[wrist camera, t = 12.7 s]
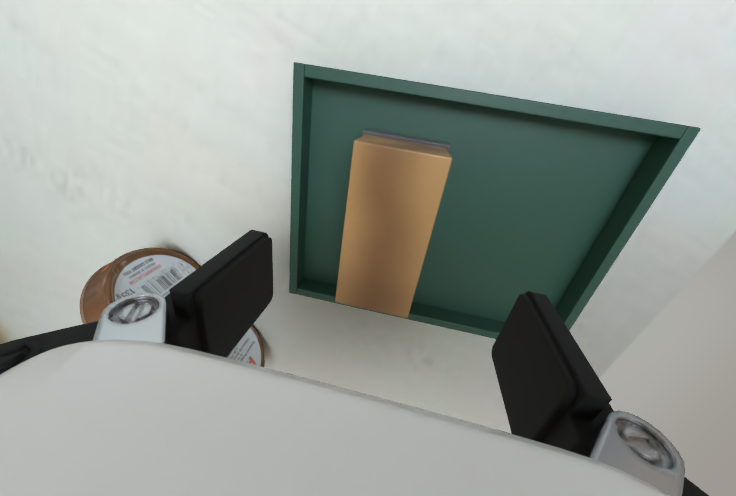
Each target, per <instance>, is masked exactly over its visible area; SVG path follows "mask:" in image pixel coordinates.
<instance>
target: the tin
mask: <svg viewBox="0 0 736 496" xmlns="http://www.w3.org/2000/svg"><path fill="white" fill-rule="evenodd" d="M199 267H200V266H199V265H198V264H196V263H195V262H194V261H193V260H191V259H190V258H188V257H186V256H185V255H183V254H181V253H178V252H175V251H172V250H169V249H163V248H144V249H139V250H135V251H132V252H129V253H126V254H124V255H122V256H120V257H119V258H117V259H115V260H114V261H113V262H111V263H109V264H107V265H105V266H104V267H102V268H100V269H99V270H98V271H97V272H95V273H94V274H93V275H92V276H91V278H90V279H89V280H88V282H87V283H86V285H85V287H84V289H83V291H82V294H81V298H80V314H81V318H82V322H83V324H87V323H91V322H95V321H99V318H100V315H101V314H102V312H103V310H104V309H105V308H106V307H107V306H109V305H110V304H111V303H113V302H115V301H117V300H118V299H121V298H124V297H126V296H129V295H134V294H139V293H155V294H158V295H161V296H162V297H163V298H164V297H166V296H167V295H168V294H170V291H169V289H170V288H172V287H173V286H174V285H176V284H177V283H179V282H180V281H181V280H183V279H184V278H185V277H187V276H188V275H190V274H191V273H192V272H194V271H195V270H197V269H198V268H199ZM227 358H230V359H234V360H238V361H242V362H246V363H250V364H253V365H257V366H261V367H264V350H263V345H262V342H261V339H260V337H259V335H258V333H257V331H256V330H255V328H254V327H253V326H251V327H250V329H249V330H248V331H247V332H246V334H245V335H244V336H243V337H242V339H241V340H240V341H239V343H238V344H237V345H236V346H235V348H234V349H233V350H232V352H231V353H230V354H229V355H228V357H227Z"/></svg>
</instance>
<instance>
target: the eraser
mask: <svg viewBox="0 0 736 496" xmlns="http://www.w3.org/2000/svg"><path fill="white" fill-rule="evenodd" d="M450 148H451V145H450V144H449V142H446V141H440V140H434V139H429V138H423V137H417V136H412V135H406V134H400V133H395V132H389V131H383V130H378V129H372V128H365V129H363V130H362V136H361V137H360V138H358V139H356V140H354V144H353V152H352V161H351V169H350V178H349V186H348V195H347V203H346V212H345V220H344V229H343V238H342V246H341V255H340V263H339V272H338V280H337V289H336V297H335V302H338V303H342V304H346V305H351V306H355V307H360V308H364V309H369V310H373V311H378V312H382V313H387V314H391V315H395V316H400V317H404V318H408V315H409V312H410V308H411V305H412V301H413V298H414V294H415V290H416V287H417V283H418V280H419V276H420V273H421V269H422V266H423V262H424V258H425V255H426V251H427V248H428V244H429V241H430V237H431V234H432V230H433V226H434V223H435V219H436V216H437V212H438V209H439V205H440V202H441V198H442V194H443V191H444V187H445V184H446V180H447V177H448V173H449V170H450V166H451V162H452V157H451V156H450V154H449V152H450Z"/></svg>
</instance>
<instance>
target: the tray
mask: <svg viewBox="0 0 736 496" xmlns="http://www.w3.org/2000/svg"><path fill="white" fill-rule="evenodd" d="M365 128H372V129H378V130H383V131H389V132H395V133H400V134H406V135H412V136H417V137H423V138H429V139H434V140H440V141H446V142H449V144H450V145H451V148H450V152H449V154H450V156H451V157H452V162H451V166H450V170H449V173H448V177H447V180H446V184H445V187H444V191H443V194H442V198H441V202H440V205H439V209H438V212H437V216H436V219H435V223H434V226H433V230H432V234H431V237H430V241H429V244H428V248H427V251H426V255H425V258H424V262H423V266H422V269H421V273H420V276H419V280H418V283H417V287H416V290H415V294H414V298H413V301H412V305H411V308H410V312H409V315H408V318H405V319H410V320H414V321H419V322H423V323H428V324H432V325H437V326H441V327H446V328H450V329H454V330H459V331H463V332H468V333H472V334H477V335H481V336H486V337H490V338H495V339H497V337H498V335H499V333H500V331H501V329H502V327H503V326H504V324H505V322H506V320H507V318H508V316H509V314H510V312H511V310H512V308H513V306H514V304H515V302H516V300H517V298H518V296H519V295H520V294H525V293H526V292H527V291H531V292H535V293H540V294H544V295H546V296H547V297H548V298H549V300H550V301H551V303H552V305H553V306H554V308H555V309H556V311H557V313H558V314H559V316H560V317H561V319H562V321H563V322H564V324H565V325H566V327H567V329H568V330H570V328H571V327H572V325H573V324H574V322H575V321H576V319H577V318H578V316H579V315H580V313H581V312H582V310H583V309H584V307H585V305H586V304H587V302H588V301H589V299H590V298H591V296H592V295H593V293H594V292H595V290H596V289H597V287H598V286H599V284H600V283H601V281H602V279H603V278H604V276H605V275H606V273H607V272H608V270H609V269H610V267H611V266H612V264H613V263H614V261H615V260H616V258H617V257H618V255H619V253H620V252H621V250H622V249H623V247H624V246H625V244H626V243H627V241H628V240H629V238H630V237H631V235H632V234H633V232H634V230H635V229H636V227H637V226H638V224H639V223H640V221H641V220H642V218H643V217H644V215H645V214H646V212H647V211H648V209H649V208H650V206H651V204H652V203H653V201H654V200H655V198H656V197H657V195H658V194H659V192H660V191H661V189H662V188H663V186H664V185H665V183H666V181H667V180H668V178H669V177H670V175H671V174H672V172H673V171H674V169H675V168H676V166H677V165H678V163H679V162H680V160H681V159H682V157H683V155H684V154H685V152H686V151H687V149H688V148H689V146H690V145H691V143H692V142H693V140H694V139H695V137H696V136H697V134H698V132H699V131H700V128H698V127H691V126H685V125H679V124H673V123H667V122H661V121H654V120H648V119H642V118H636V117H630V116H623V115H617V114H611V113H605V112H599V111H593V110H586V109H580V108H574V107H568V106H562V105H555V104H549V103H543V102H537V101H531V100H524V99H518V98H512V97H506V96H500V95H494V94H487V93H481V92H475V91H469V90H463V89H456V88H450V87H444V86H438V85H432V84H426V83H419V82H413V81H407V80H401V79H395V78H388V77H382V76H376V75H370V74H364V73H357V72H351V71H345V70H339V69H333V68H327V67H320V66H314V65H308V64H302V63H296V62H294V76H293V128H292V179H291V231H290V282H289V293H293V294H298V295H303V296H307V297H312V298H316V299H321V300H325V301H330V302H334V303H338V302H335V297H336V289H337V280H338V272H339V263H340V255H341V246H342V238H343V229H344V220H345V212H346V203H347V195H348V186H349V178H350V169H351V161H352V152H353V144H354V140H356V139H358V138H360V137H361V136H362V130H363V129H365ZM339 304H342V303H339ZM343 305H346V304H343ZM347 306H351V305H347ZM352 307H355V306H352ZM356 308H360V307H356ZM361 309H364V308H361ZM365 310H369V309H365ZM370 311H373V310H370ZM374 312H378V311H374ZM379 313H382V312H379ZM383 314H387V313H383ZM388 315H391V314H388ZM392 316H395V315H392ZM396 317H400V316H396ZM401 318H404V317H401Z"/></svg>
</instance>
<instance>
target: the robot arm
mask: <svg viewBox="0 0 736 496" xmlns="http://www.w3.org/2000/svg"><path fill="white" fill-rule="evenodd" d="M169 291H170V294H168V295H167V296H166V297H164V298H163V297H162V296H161V295H158V294H155V293H139V294H134V295H129V296H126V297H124V298H121V299H118V300H117V301H115V302H113V303H111V304H110V305H109V306H107V307H106V308H105V309H104V310H103V312H102V314H101V315H100V318H99V321H95V322H91V323H87V324H82V325H78V326H74V327H69V328H65V329H61V330H56V331H52V332H48V333H43V334H39V335H35V336H30V337H26V338H22V339H18V340H14V341H10V342H7V343H3V344H0V496H709V495H707V494H706V493H705V492H703V491H702V490H701V489H699V488H698V487H697V486H696V485H694V484H693V483H692V482H690V481H689V480H688V479H687V478H685V477H684V475H685V467H684V461H683V459H682V458H681V456H680V454H679V452H678V451H677V449H676V448H675V447H674V445H673V444H672V443H671V442H670V441H669V440H668V439H667V438H666V437H665V436H664V435H663V434H662V433H661V432H660V431H659V430H657V429H656V428H654V427H653V426H652V425H651V424H649V423H648V422H646V421H645V420H643V419H641V418H639V417H638V416H635V415H633V414H630V413H628V412H623V411H613V409H612V408H611V406H610V404H609V402H610V401H611V400H612V399H611V397H610V396H609V394H608V393H607V391H606V389H605V388H604V386H603V385H602V383H601V382H600V380H599V378H598V377H597V375H596V373H595V372H594V370H593V369H592V367H591V365H590V364H589V362H588V361H587V359H586V357H585V356H584V354H583V353H582V351H581V349H580V348H579V346H578V345H577V343H576V341H575V340H574V338H573V337H572V335H571V333H570V332H569V330H568V329H567V327H566V325H565V324H564V322H563V321H562V319H561V317H560V316H559V314H558V313H557V311H556V309H555V308H554V306H553V305H552V303H551V301H550V300H549V298H548V297H547V296H546V295H544V294H540V293H535V292H531V291H527V292H526V293H525V294H520V295H519V296H518V298H517V300H516V302H515V304H514V306H513V308H512V310H511V312H510V314H509V316H508V318H507V320H506V322H505V324H504V326H503V327H502V329H501V331H500V333H499V335H498V337H497V339H496V341H495V343H494V345H493V348H492V359H493V362H494V366H495V370H496V374H497V378H498V382H499V386H500V389H501V393H502V397H503V401H504V405H505V409H506V413H507V417H508V420H509V424H510V428H511V432H512V434H510V433H507V432H503V431H500V430H496V429H492V428H489V427H485V426H481V425H478V424H474V423H470V422H467V421H463V420H459V419H456V418H452V417H448V416H445V415H441V414H437V413H434V412H430V411H426V410H423V409H419V408H415V407H412V406H408V405H404V404H401V403H397V402H393V401H389V400H386V399H382V398H378V397H375V396H371V395H367V394H363V393H360V392H356V391H352V390H348V389H345V388H341V387H337V386H333V385H330V384H326V383H322V382H318V381H315V380H311V379H307V378H303V377H299V376H295V375H292V374H288V373H284V372H280V371H276V370H272V369H269V368H265V367H261V366H257V365H253V364H250V363H246V362H242V361H238V360H234V359H230V358H227V357H228V355H229V354H230V353H231V352H232V350H233V349H234V348H235V346H236V345H237V344H238V343H239V341H240V340H241V339H242V337H243V336H244V335H245V334H246V332H247V331H248V330H249V329H250V327H251V326H252V325H253V323H254V322H255V321H256V320H257V318H258V317H259V316H260V314H261V313H262V312H263V311H264V309H265V308H266V307H267V306H268V304H269V303H270V301H271V300H272V297H273V262H272V239H271V238H269V237H268V234H267V233H264V232H259V231H255V230H250V231H249V232H247V233H246V234H245V235H243V236H242V237H241V238H239V239H238V240H236V241H235V242H234V243H232V244H231V245H230V246H228V247H227V248H225V249H224V250H223V251H221V252H220V253H219V254H217V255H216V256H214V257H213V258H212V259H210V260H209V261H208V262H206V263H205V264H203V265H202V266H201V267H199V268H198V269H197V270H195V271H194V272H192V273H191V274H190V275H188V276H187V277H185V278H184V279H183V280H181V281H180V282H179V283H177V284H176V285H174V286H173V287H172V288H170V289H169Z"/></svg>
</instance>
